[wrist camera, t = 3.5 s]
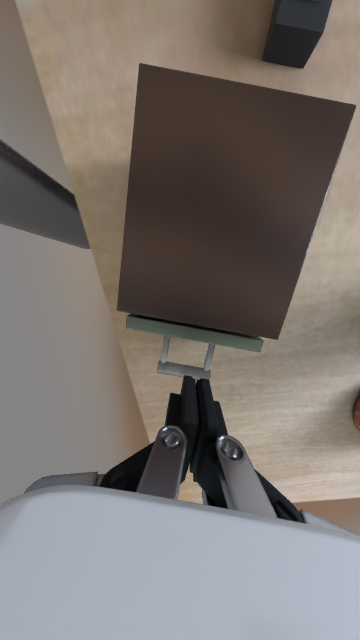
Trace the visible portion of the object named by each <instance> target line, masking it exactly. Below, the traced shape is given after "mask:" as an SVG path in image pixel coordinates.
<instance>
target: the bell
mask: <svg viewBox="0 0 360 640" xmlns="http://www.w3.org/2000/svg"><path fill="white" fill-rule="evenodd" d="M353 420H354V424H355V425H356V427H357V428H358V429H359V431H360V397H359V399H358V400H357V402H356V404H355V406H354V412H353Z"/></svg>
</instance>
